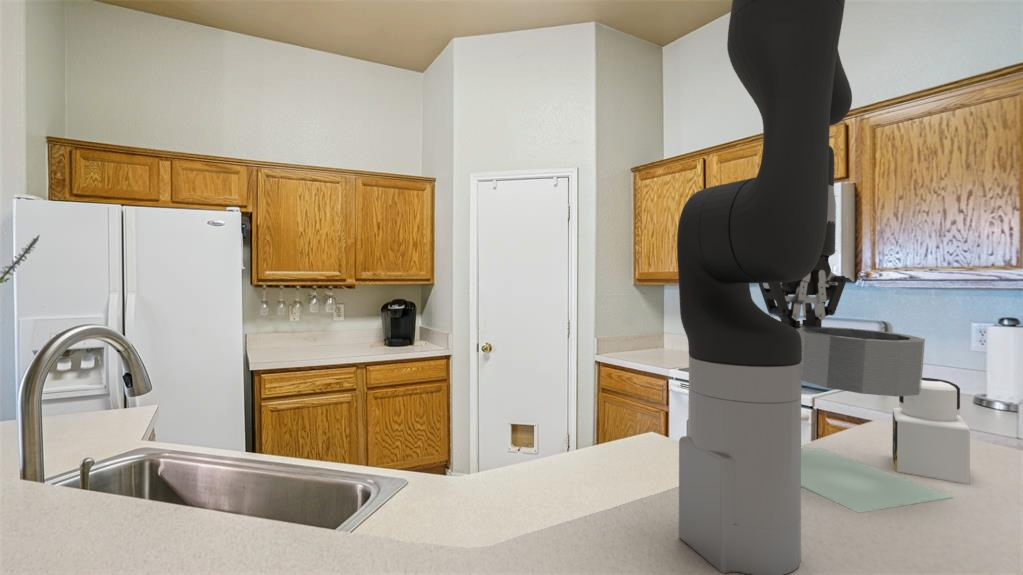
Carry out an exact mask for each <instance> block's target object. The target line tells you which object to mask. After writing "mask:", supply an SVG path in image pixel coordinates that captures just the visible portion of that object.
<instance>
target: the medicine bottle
mask: <svg viewBox="0 0 1023 575" xmlns="http://www.w3.org/2000/svg"><path fill="white" fill-rule="evenodd" d="M898 401H899V402H898V403H899V405H898V406H899V407H893V409H892V459H893V464H894V470H895V472H896V473H900V474H906V475H913V476H917V477H923V478H924V477H925V478H928V479H929V478H930V479H936V480H941V481H946V482H953V483H959V484H963V485H970V481H971V479H970V478H971V429H970V427H969V426H968V424H967V422H965V420H964V419H963V417H962V416H961V415H960V414H961V388H960V387H959V385H957V384H955V383H954V382H951V381H948V380H945V379H938V378H933V377H932V378H931V377H922V385H921V391H920V394H919V395H913V396H898Z"/></svg>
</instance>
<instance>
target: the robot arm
mask: <svg viewBox="0 0 1023 575" xmlns="http://www.w3.org/2000/svg"><path fill="white" fill-rule="evenodd" d="M845 3H846V0H732V3H731V10H730V16H729V23H728V30H727V31H728V32H727V43H726V44H727V53H728V54H727V56H728V58H729V61H730V64H731V66H732V69H733V70H734V72H735V74H736V76H737V78H738V79H739V82H740V83H741V84H742V85H743V87H744V89H745V90H746V91H747V93H748V94H749V96H750V98H751V99H752V100H753V103H754V104H755V106H756V107H757V109H758V111H759V113H760V116H761V119H762V127H763V132H762V133H763V135H762V136H763V138H762V139H763V141H762V143H763V144H762V151H761V152H762V154H761V158H760V159H761V160H760V165H759V169H758V173H757V175H756V177H752V178H747V179H742V180H736V181H732V182H728V183H724V184H718V185H713V186H709V187H706V188H703V189H701V190H698V191H696V192H694V193H693V194H692V195H691V196H690V197H689V198H688V200H687V201H686V203H685V204H684V206H683V208H682V211H681V213H680V216H679V219H678V225H677V226H678V227H677V234H676V251H677V252H676V253H677V254H676V255H677V256H676V259H677V272H678V273H677V274H678V293H679V295H678V296H679V312H680V320H681V324H682V328H683V331H684V332H685V335H686V338H687V341H688V342H687V343H688V344H687V346H688V414H687V415H688V416H687V417H688V422H687V423H688V425H687V426H688V427H687V428H688V429H687V430H688V431H687V433H688V434H687V435H685V436H684V435H683V436H680V438H679V440H678V537H679V538H680V539H681V540H682V541H683V542H685V543H686V544H687V545H688V546H689V547H690V548H692V549H693V550H694V551H695V552H697V554H699V555H700V556H701V557H703V559H705V560H706V561H707V562H709V564H711V565H712V566H713V567H715V568H716V569H717V570H718V571H719V572H720V573H724V574H726V573H731V572H732V573H733V572H734V573H742V574H748V575H787V574H789V573H792V572H795V570H797V568H799V567H800V565H801V561H802V559H801V558H802V555H801V554H802V487H801V450H802V380H801V370H802V362H801V361H802V342H801V336H800V334H799V332H798V331H797V330H796V329H797V328H799V326H800V324H806V325H813V326H820V327H822V322H823V320H825V318H826V317H828V316H834V315H835V313H836V311H837V307H838V306H839V302H840V299H841V297H842V295H843V291H844V290H845V286H846V283H847V277H846V276H845V275H837V274H835V273H833V272H832V269H831V265H830V263H829V258H830V257H831V256H833V255H834V254H835V253H836V222H837V221H836V218H837V213H836V212H837V204H836V197H835V196H836V195H835V151H834V148H833V147H832V146H831V145H830V128H831V126H835V125H837V124H839V123H840V122H841V121H843V120H844V119H845V118H846V116H847V115H848V114H849V112H850V110H851V107H852V103H853V93H852V88H851V85H850V82H849V79H848V76H847V74H846V72H845V68H844V66H843V64H842V59H841V57H840V52H839V43H840V35H841V30H842V24H843V19H844V18H843V17H844V10H845ZM750 284H758V286H759V290H760V292H761V295H762V298H763V300H764V305H765V307H766V309H767V310H766V311H767V312H768V313H769V314H770V315H769V314H768V313H767V312H765V311H764V310H763V309H761V308H760V306H759V305H757V304H756V302H754V300H753V298H752V294H751V287H750ZM826 303H827V305H826ZM790 304H791V305H790ZM812 304H813V305H814V306H813V305H812ZM801 310H802V316H803V318H804V319H802V320H801V321H800V320H799V319H800V316H801ZM771 315H774V316H776V317H778V318H779V320H778V319H777V318H775V317H773V316H771ZM801 322H802V323H801Z"/></svg>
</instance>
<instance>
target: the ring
mask: <svg viewBox="0 0 1023 575" xmlns="http://www.w3.org/2000/svg"><path fill="white" fill-rule="evenodd" d="M796 330H797V331H798V332H799V334H800V336H801V342H802V361H801V362H802V370H801V382H802V381H803V382H806V383H808V384H812V385H816V386H819V387H824V388H827V389H832V390H833V389H834V390H838V391H844V392H850V393H856V394H863V395H873V396H874V395H875V396H885V397H886V396H887V397H899V396H913V395H919V394H920V391H921V385H922V378H923V371H924V370H923V369H924V358H925V357H924V355H925V344H926V343H925V342H926V341H925V340H926V338H922V337H918V336H914V335H910V334H904V333H903V334H902V333H897V332H888V331H884V330H883V331H881V330H874V329H873V330H872V329H862V328H850V327H833V326H821V327H820V326H813V325H806V324H802V323H800V326H799V328H797V329H796Z"/></svg>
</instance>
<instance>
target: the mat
mask: <svg viewBox="0 0 1023 575" xmlns="http://www.w3.org/2000/svg"><path fill="white" fill-rule="evenodd" d="M801 488H802V489H805V490H807V491H809V492H812V493H814V494H816V495H818V496H820V497H822V498H825V499H826V500H829V501H831V502H833V503H836V504H838V505H839V506H840V505H841V506H842V507H844V508H847V509H848V510H851V511H853V512H855V513H858V514H861V513H866V512H867V513H869V512H873V511H880V510H885V509H892V508H894V509H895V508H899V507H906V506H911V505H918V504H925V503H931V502H932V503H933V502H936V501H937V502H938V501H943V500H949V499H954V496H952V495H950V494H947V493H944V492H942V491H939V490H935V489H933V488H932V487H931V488H930V487H928V486H925V485H922V484H920V483H918V482H914V481H912V480H908V479H906V478H903V477H900V476H898V475H895V474H893V473H889V472H888V471H884V470H881V469H878V468H876V467H874V466H872V465H868V464H867V463H866V464H865V463H862V462H860V461H858V460H854V459H851V458H849V457H846V456H843V455H840V454H837V453H835V452H834V451H830V450H828V449H824V448H822V447H816V448H809V449H808V448H807V449H801Z"/></svg>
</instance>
